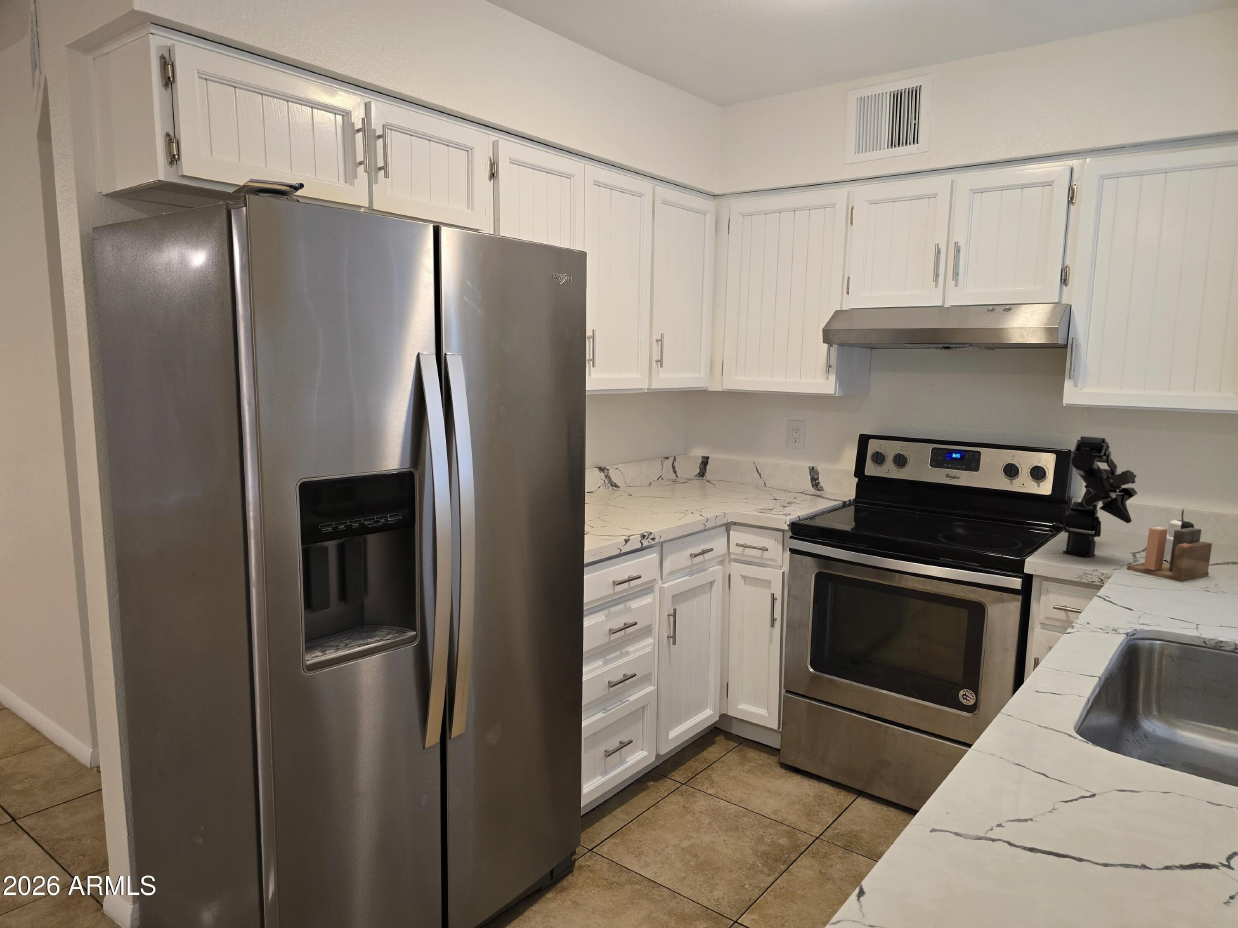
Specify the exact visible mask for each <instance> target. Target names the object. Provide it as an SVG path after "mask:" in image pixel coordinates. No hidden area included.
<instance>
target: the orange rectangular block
mask: <svg viewBox="0 0 1238 928" xmlns="http://www.w3.org/2000/svg"><path fill="white" fill-rule="evenodd" d="M1167 535H1168V528H1166V527H1163V526H1162V527H1161V526H1153V527H1150V528H1148V535H1147V542H1146V543H1147V544H1146V550H1145V556H1144V562H1143V563H1144V568H1146V569H1150V570H1158V569H1162V566H1163V562H1164V560H1163V559H1164V552H1165V545H1166V537H1167Z"/></svg>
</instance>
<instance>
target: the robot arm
mask: <svg viewBox="0 0 1238 928" xmlns="http://www.w3.org/2000/svg"><path fill="white" fill-rule="evenodd" d="M1110 448H1111V446H1110V445H1109V442H1108V441H1107V439H1106V438H1105V437H1095V436H1083V435H1081V436H1080V439H1077V441H1076V444H1075V447H1074V449H1073V452H1072V458H1071V465H1072V467H1073V468H1074V471H1075V472H1076V474H1077V475H1078V476H1079V477H1080V479H1081V480H1082V481H1083V482H1084V484H1085V485H1084V486H1083V487H1084V488H1085V490H1084V493H1083V495H1082V497H1081V500H1080V501H1074V502H1072V505H1071V506H1070V508H1069V510H1068V511H1067V512H1066V513H1065V516H1064V517H1065V518H1064V526H1063V527H1064V529H1063V532H1064V533H1067V538H1066V547H1065V550H1062V553H1064V554H1068V553H1070V554H1069V555H1072V556H1076V557H1082V558H1088V557H1094V556H1096V553H1095V551H1096V544H1097V543H1096V540H1095V538H1098V537H1099V538H1101V535H1102V521H1101V519H1100V516H1098V515H1099V510H1101V511H1104V512H1105V513H1107V514H1110V515H1111V516H1113V517H1115V518H1117V519H1119V520H1120V521H1122V522H1124V523H1126V524H1130V523H1131V522H1132V521H1133V520H1132V517H1131V514H1130V512H1129V510H1128V509H1129V508H1128V506H1127V502H1128V501H1129V500H1130V499H1132V498H1134V497H1135V496H1137V495H1138V491H1137V490H1136V489H1135V488H1134V487H1130V486H1127V487H1123V486H1126V485H1131V484H1132V485H1133V484H1136V483H1137V482H1136V478H1137V475H1136V474H1135V472H1134V471H1131V470H1130V469H1126V470H1123V471H1121V472H1120V473H1118V466H1117V464H1116V462H1114V461H1115V460H1113V459H1112V451H1110ZM1098 463H1103V464H1106V466H1107V467H1108V468H1102V467H1100V465H1099V464H1098ZM1099 503H1101V506H1100V507H1099V510H1098V506H1099Z"/></svg>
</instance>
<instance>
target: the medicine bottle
mask: <svg viewBox="0 0 1238 928" xmlns="http://www.w3.org/2000/svg"><path fill="white" fill-rule="evenodd" d="M1185 528H1195V524H1194V523H1192V522H1191V521H1186V520H1177V519H1173V520H1171V521H1169V522H1168V528H1167V529H1168V530H1167V537H1166V545H1165V552H1164V560H1167V561H1169V562H1170V559H1171V551H1172V544H1173V537H1174V530H1179V529H1185ZM1164 560H1163V561H1164ZM1167 561H1166V562H1167ZM1169 562H1168V563H1169Z"/></svg>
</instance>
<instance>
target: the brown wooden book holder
mask: <svg viewBox="0 0 1238 928" xmlns="http://www.w3.org/2000/svg"><path fill="white" fill-rule="evenodd" d="M1201 534H1202V529H1201V528H1196V527H1194V528H1185V529H1179V530H1174V537H1173V544H1172V551H1171V559H1170V563H1169V562H1165V561H1163V566H1162V569H1158V570H1150V569H1146V568H1144V563H1145V562H1141V563H1136V564H1135V563H1134V564H1129V565H1127V567H1126V570H1129V571H1132V570H1133V572H1137V573H1141V572H1142V574H1146V575H1151V576H1155V577H1159V578H1163V579H1168V580H1172V581H1176V582H1180V583H1182V582H1186V581H1187V582H1188V581H1191V580H1196V579H1200V578H1204V577H1209V574H1210V573H1209V567H1210V562H1211V561H1210V560H1211V554H1212V548H1213V543H1212V542H1207V541H1206V542H1205V541H1201Z"/></svg>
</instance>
